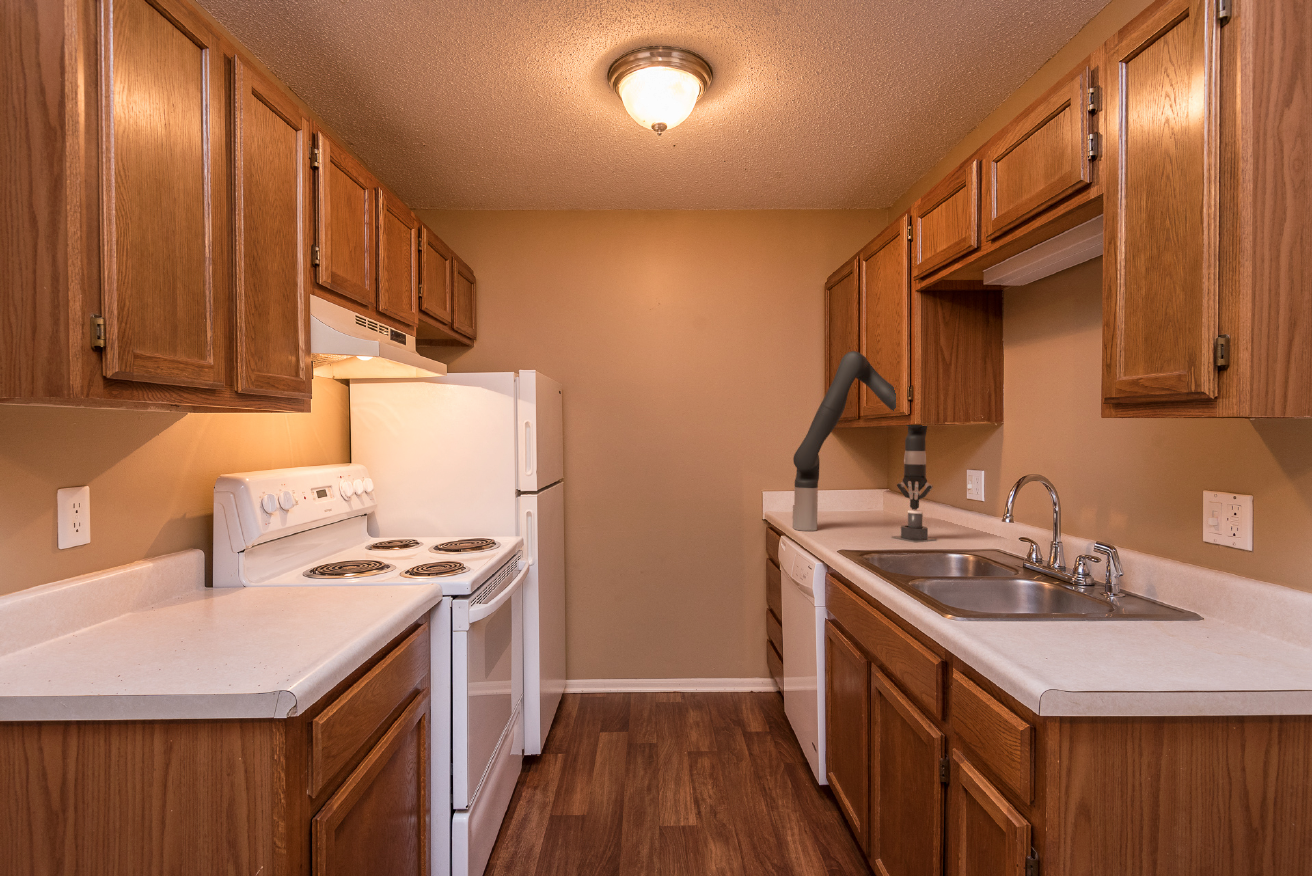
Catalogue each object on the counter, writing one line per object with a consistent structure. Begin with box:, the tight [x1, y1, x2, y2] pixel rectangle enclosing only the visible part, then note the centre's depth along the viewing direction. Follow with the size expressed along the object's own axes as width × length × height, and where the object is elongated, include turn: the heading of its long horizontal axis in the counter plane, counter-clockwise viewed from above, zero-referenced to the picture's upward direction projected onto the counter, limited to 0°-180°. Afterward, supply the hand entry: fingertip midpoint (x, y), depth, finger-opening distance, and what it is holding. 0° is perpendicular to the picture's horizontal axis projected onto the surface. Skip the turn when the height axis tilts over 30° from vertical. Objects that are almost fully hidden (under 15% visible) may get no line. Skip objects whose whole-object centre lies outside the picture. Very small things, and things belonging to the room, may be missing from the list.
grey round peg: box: [907, 509, 924, 528], centre depth 232 cm, size 5×5×10 cm
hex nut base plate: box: [891, 524, 938, 543], centre depth 233 cm, size 11×11×4 cm
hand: (914, 509), depth 233 cm, fingers closed
